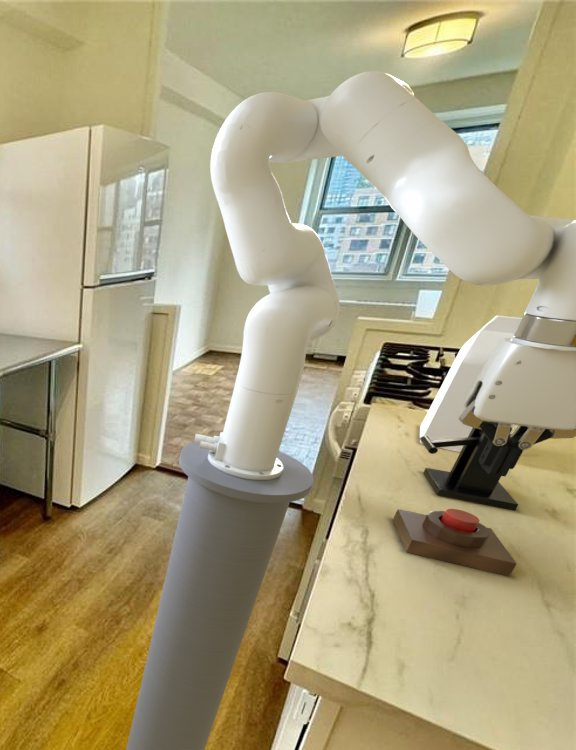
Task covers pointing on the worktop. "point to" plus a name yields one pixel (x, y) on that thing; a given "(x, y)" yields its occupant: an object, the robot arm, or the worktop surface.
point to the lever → (448, 442)
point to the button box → (452, 542)
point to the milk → (464, 382)
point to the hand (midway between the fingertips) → (492, 470)
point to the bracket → (471, 478)
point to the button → (460, 520)
